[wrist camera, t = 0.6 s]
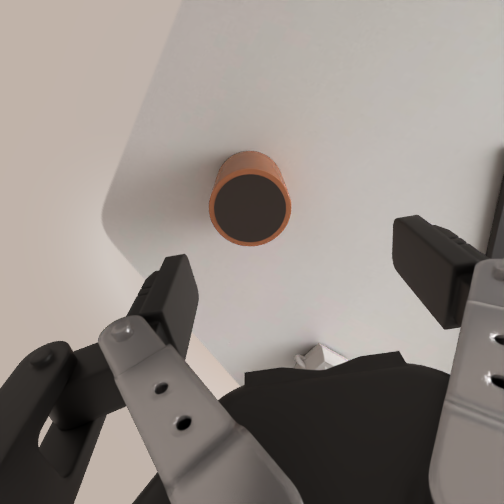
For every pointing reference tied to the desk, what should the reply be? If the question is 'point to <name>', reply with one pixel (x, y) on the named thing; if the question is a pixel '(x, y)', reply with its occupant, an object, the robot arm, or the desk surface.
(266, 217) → the copper pot
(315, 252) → the desk surface
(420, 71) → the desk surface
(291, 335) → the desk surface
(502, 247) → the spatula
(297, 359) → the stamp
